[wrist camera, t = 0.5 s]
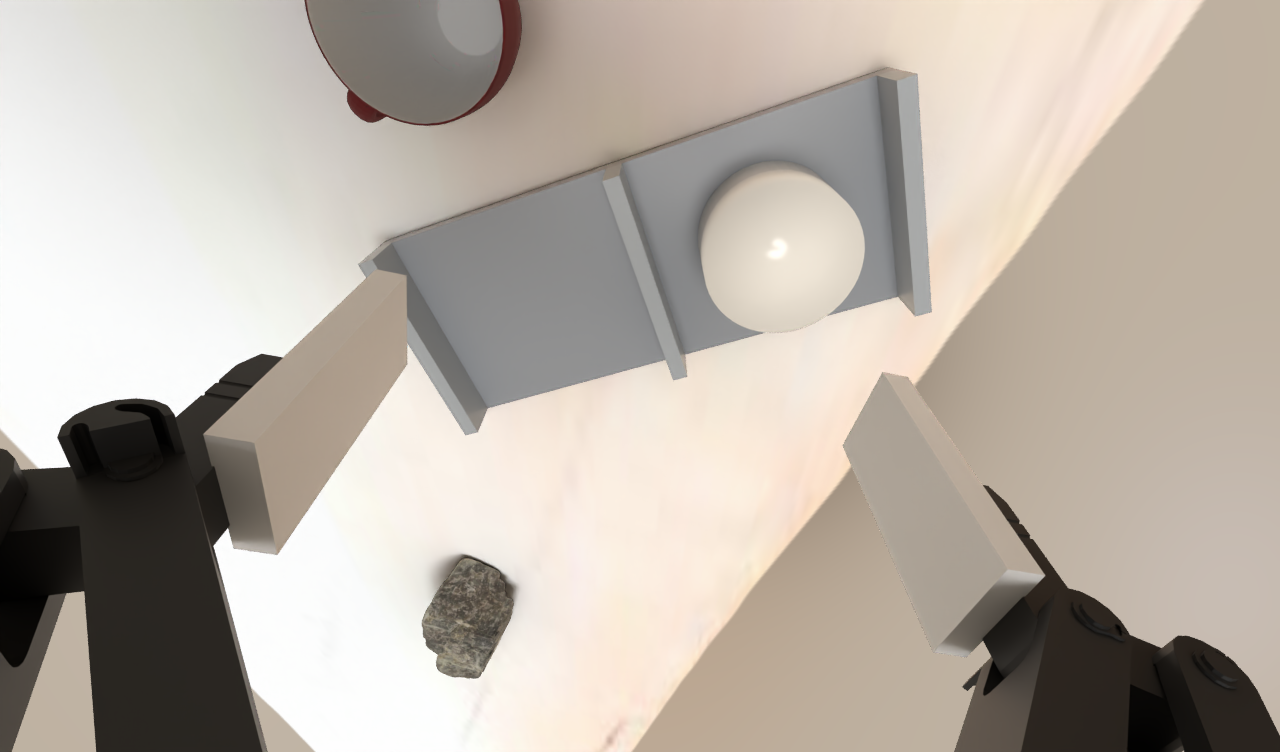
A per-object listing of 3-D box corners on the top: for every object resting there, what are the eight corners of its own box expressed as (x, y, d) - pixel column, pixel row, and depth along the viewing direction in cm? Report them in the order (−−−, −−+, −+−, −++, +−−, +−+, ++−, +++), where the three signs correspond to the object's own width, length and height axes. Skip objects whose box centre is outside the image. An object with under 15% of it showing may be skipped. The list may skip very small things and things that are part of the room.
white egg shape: (680, 188, 35) (684, 212, 30) (828, 139, 33) (854, 157, 29) (716, 313, 39) (724, 349, 35) (848, 276, 38) (873, 309, 33)
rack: (385, 241, 38) (358, 264, 35) (888, 67, 32) (917, 73, 28) (480, 402, 45) (465, 435, 42) (906, 285, 39) (931, 312, 36)
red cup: (468, 160, 35) (411, 206, 27) (350, 60, 32) (243, 76, 24) (575, 12, 31) (546, 11, 22) (449, -119, 28) (361, -175, 20)
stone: (536, 593, 65) (508, 690, 60) (477, 579, 65) (444, 674, 60) (513, 564, 53) (475, 683, 48) (441, 548, 54) (396, 663, 49)
